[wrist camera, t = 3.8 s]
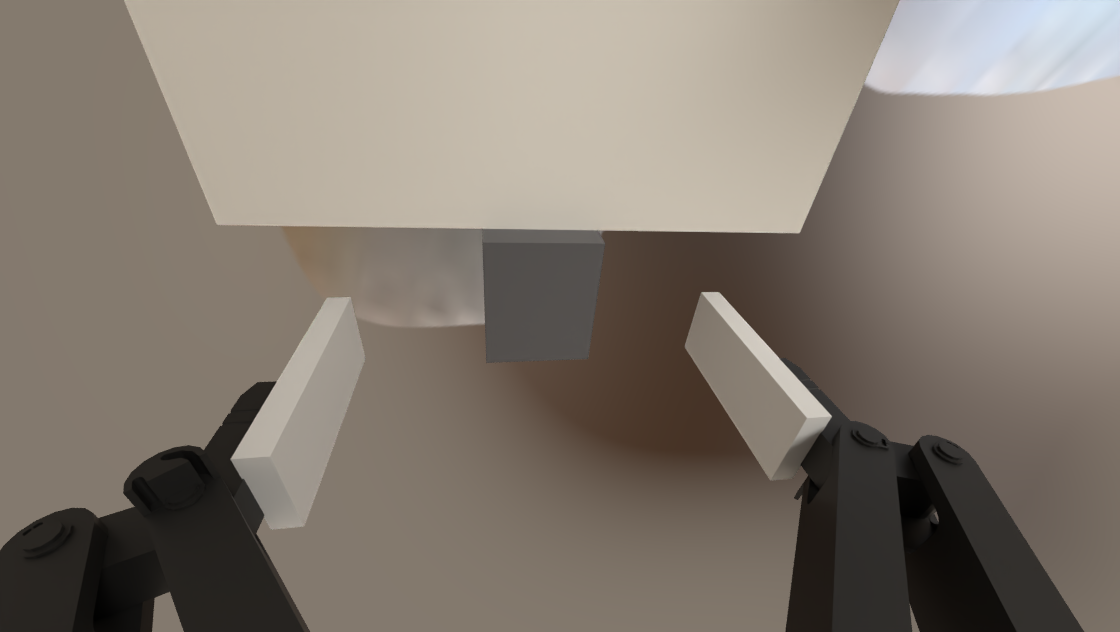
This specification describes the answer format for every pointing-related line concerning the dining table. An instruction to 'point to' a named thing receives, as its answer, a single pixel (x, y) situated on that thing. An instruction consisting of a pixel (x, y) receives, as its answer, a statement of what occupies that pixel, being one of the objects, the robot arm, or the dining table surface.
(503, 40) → the lid
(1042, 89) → the dining table surface
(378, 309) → the dining table surface
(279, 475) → the robot arm
